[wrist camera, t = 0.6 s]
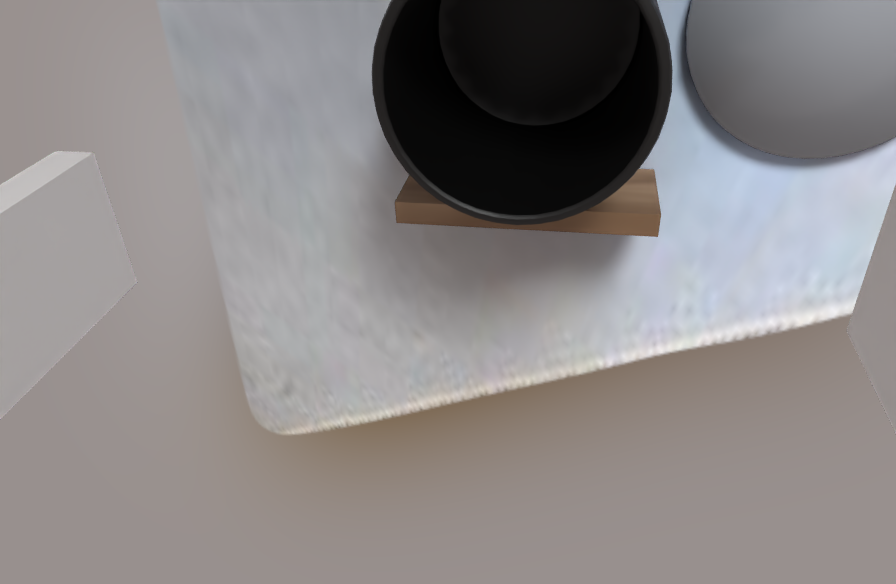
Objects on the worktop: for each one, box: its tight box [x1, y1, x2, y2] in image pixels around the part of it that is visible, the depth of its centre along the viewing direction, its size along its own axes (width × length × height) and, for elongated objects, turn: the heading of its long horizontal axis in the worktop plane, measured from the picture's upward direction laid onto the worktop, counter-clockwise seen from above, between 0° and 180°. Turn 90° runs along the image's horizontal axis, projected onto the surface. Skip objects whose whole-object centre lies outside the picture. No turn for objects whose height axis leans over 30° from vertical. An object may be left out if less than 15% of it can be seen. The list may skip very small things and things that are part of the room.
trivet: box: [686, 0, 896, 159], centre depth 27 cm, size 11×11×1 cm
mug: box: [372, 0, 672, 225], centre depth 25 cm, size 9×12×9 cm
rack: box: [395, 169, 661, 237], centre depth 27 cm, size 17×11×4 cm, turn 2°
